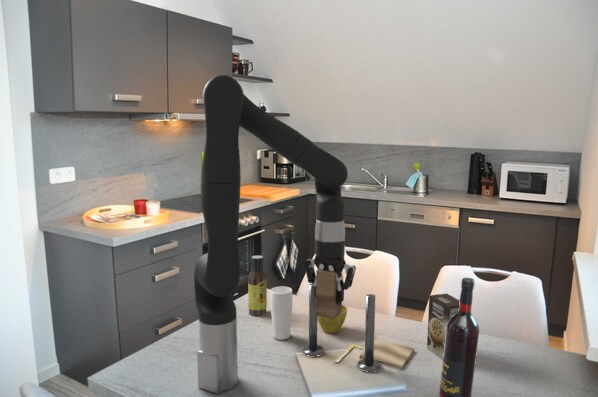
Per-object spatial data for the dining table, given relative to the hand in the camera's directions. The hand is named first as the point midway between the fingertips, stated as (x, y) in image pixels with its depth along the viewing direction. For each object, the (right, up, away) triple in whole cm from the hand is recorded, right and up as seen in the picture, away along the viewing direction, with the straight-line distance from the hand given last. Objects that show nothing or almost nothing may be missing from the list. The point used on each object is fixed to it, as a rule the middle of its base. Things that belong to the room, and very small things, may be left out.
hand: (329, 301), depth 123 cm
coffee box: (+34, -18, +13) cm, 40 cm away
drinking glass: (-13, -16, +23) cm, 31 cm away
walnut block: (0, -3, +1) cm, 3 cm away
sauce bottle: (-22, -13, +42) cm, 49 cm away
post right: (+11, -19, +5) cm, 22 cm away
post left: (-4, -18, +13) cm, 22 cm away
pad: (+17, -18, +12) cm, 27 cm away
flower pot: (+2, -15, +28) cm, 32 cm away
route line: (+7, -18, +11) cm, 22 cm away
